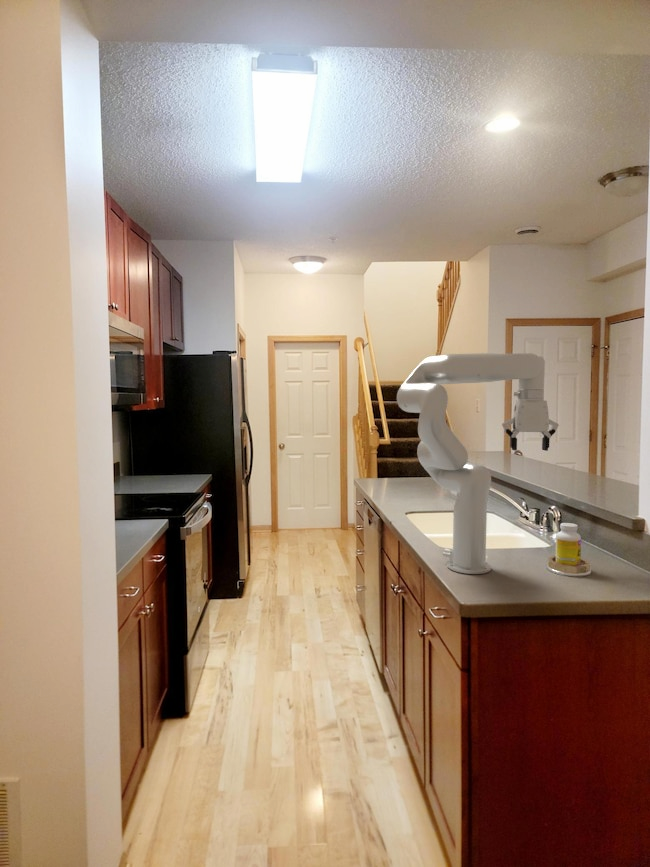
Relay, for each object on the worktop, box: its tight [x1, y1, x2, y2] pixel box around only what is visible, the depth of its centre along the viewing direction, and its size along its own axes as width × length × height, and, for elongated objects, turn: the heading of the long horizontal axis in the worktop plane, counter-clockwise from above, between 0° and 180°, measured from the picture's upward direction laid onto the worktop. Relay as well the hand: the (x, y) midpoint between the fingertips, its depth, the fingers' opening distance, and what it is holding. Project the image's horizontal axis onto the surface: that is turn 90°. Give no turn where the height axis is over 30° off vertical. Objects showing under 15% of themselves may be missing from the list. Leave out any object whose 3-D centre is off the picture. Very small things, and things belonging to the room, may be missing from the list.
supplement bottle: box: [555, 522, 582, 566], centre depth 161 cm, size 7×7×13 cm
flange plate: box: [546, 555, 592, 578], centre depth 162 cm, size 12×12×3 cm
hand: (529, 450), depth 173 cm, fingers open, 9 cm apart
